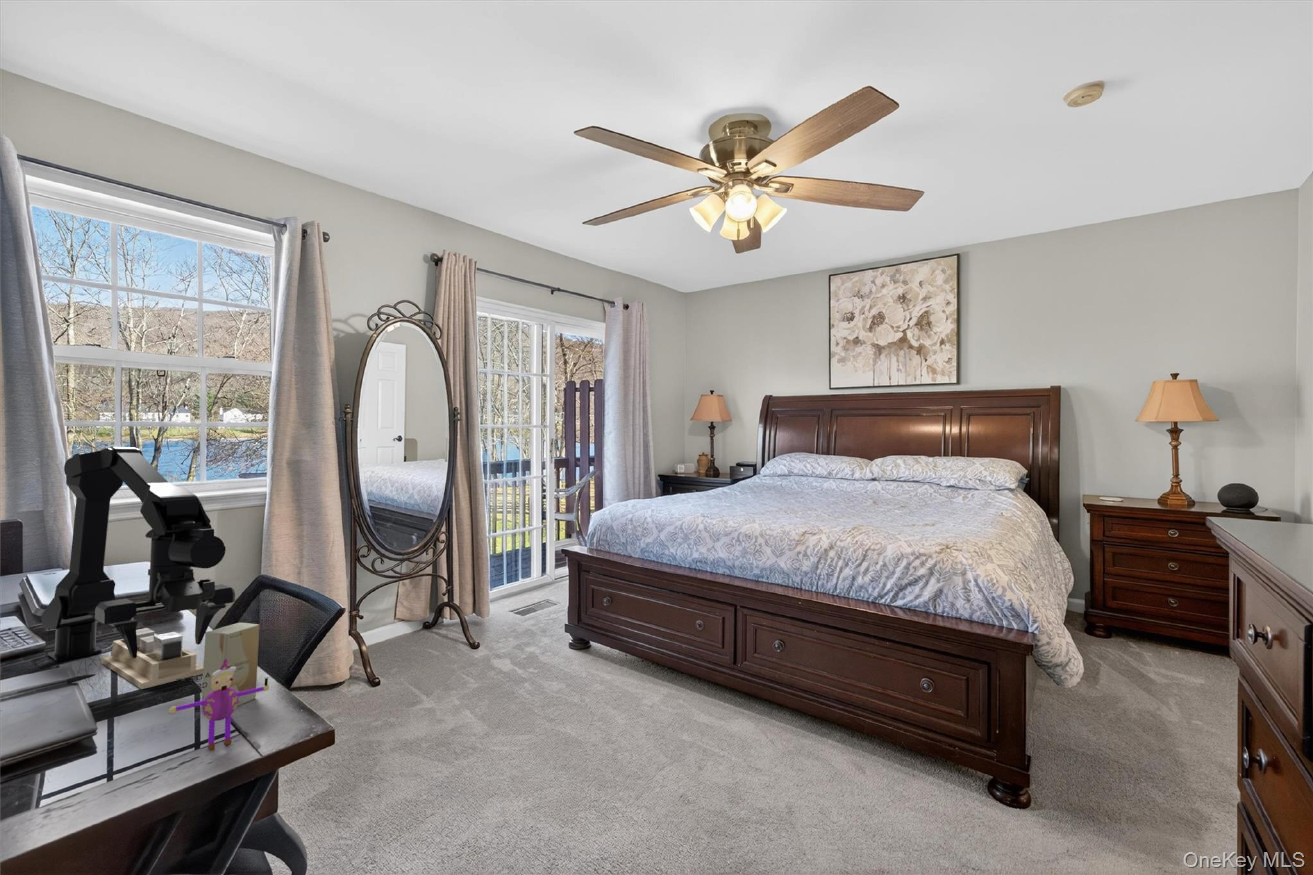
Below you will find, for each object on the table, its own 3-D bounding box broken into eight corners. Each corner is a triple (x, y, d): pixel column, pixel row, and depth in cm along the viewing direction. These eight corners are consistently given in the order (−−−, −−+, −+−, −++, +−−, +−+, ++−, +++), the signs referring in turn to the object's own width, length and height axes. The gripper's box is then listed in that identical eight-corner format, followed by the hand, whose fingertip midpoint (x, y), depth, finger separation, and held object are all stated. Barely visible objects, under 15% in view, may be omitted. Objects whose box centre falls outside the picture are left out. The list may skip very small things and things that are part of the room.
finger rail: (102, 662, 111) (103, 633, 111) (161, 650, 118) (162, 622, 118) (141, 689, 99) (143, 656, 99) (204, 673, 107) (206, 642, 107)
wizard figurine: (168, 764, 76) (172, 671, 76) (165, 755, 78) (168, 665, 78) (269, 735, 84) (273, 651, 84) (264, 728, 86) (267, 646, 86)
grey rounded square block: (182, 669, 105) (183, 636, 105) (161, 674, 102) (162, 640, 102) (173, 664, 107) (174, 631, 107) (152, 669, 105) (153, 635, 105)
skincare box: (222, 714, 90) (225, 634, 91) (199, 711, 91) (202, 632, 92) (258, 697, 97) (261, 622, 97) (236, 694, 98) (239, 621, 98)
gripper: (117, 578, 93) (113, 676, 93) (249, 561, 109) (246, 645, 108) (96, 569, 99) (91, 662, 99) (223, 554, 115) (220, 634, 114)
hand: (167, 650), depth 105 cm, fingers open, 9 cm apart
